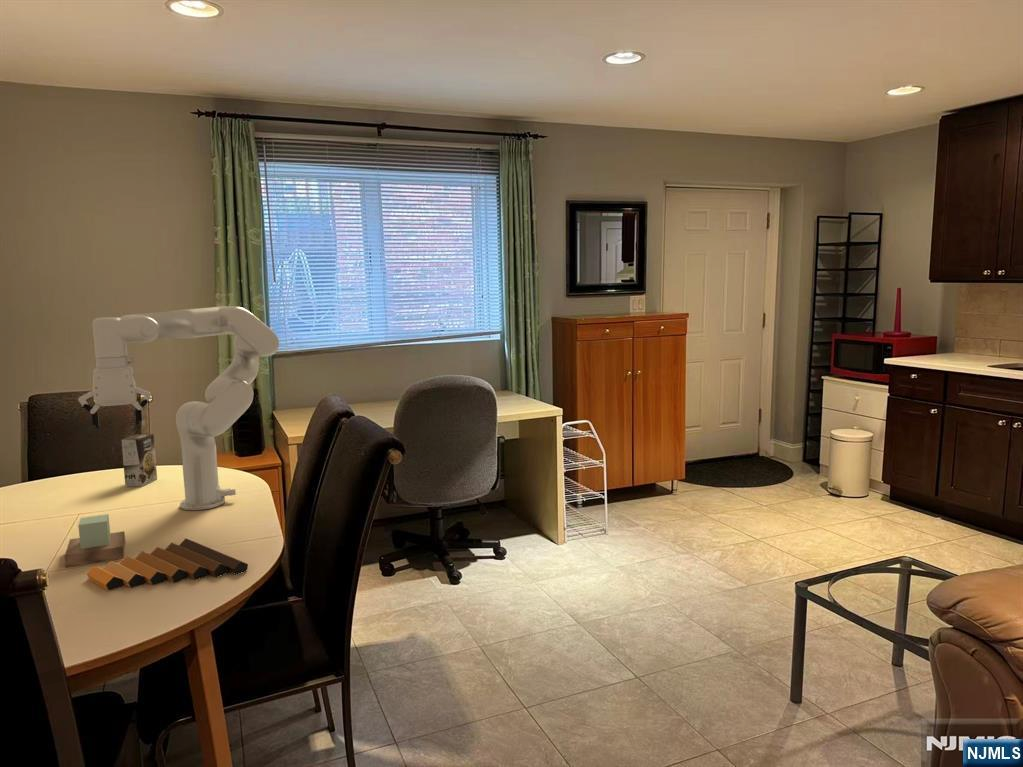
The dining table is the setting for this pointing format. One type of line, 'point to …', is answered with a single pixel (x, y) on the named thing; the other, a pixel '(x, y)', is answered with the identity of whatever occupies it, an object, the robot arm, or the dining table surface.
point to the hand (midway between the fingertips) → (118, 425)
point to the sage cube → (94, 531)
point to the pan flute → (166, 566)
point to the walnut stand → (95, 551)
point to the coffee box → (139, 460)
